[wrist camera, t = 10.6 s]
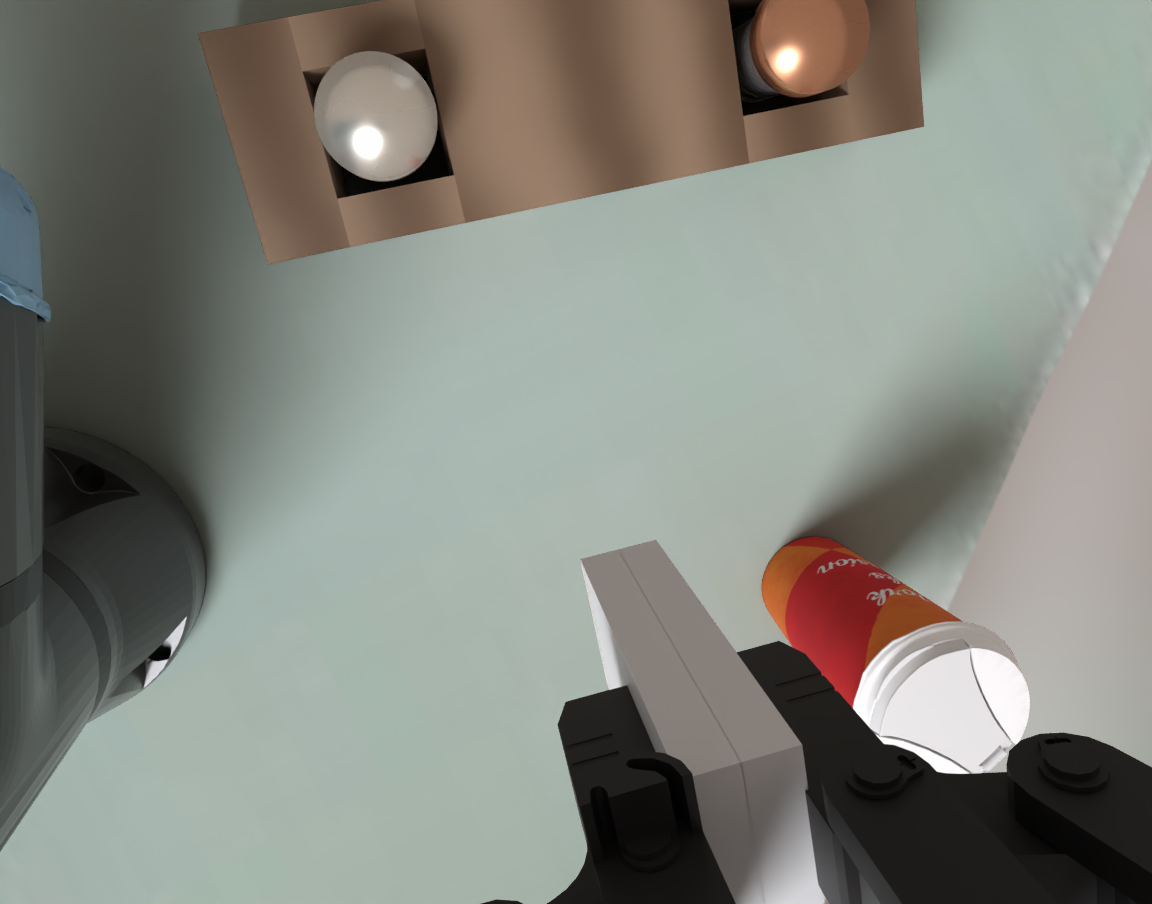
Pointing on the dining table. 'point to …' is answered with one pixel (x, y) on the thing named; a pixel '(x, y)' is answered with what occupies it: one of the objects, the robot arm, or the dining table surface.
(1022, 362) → the dining table surface
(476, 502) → the dining table surface
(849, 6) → the knob
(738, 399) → the dining table surface
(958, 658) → the coffee cup
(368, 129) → the knob
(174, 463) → the dining table surface
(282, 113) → the brown wooden long block
